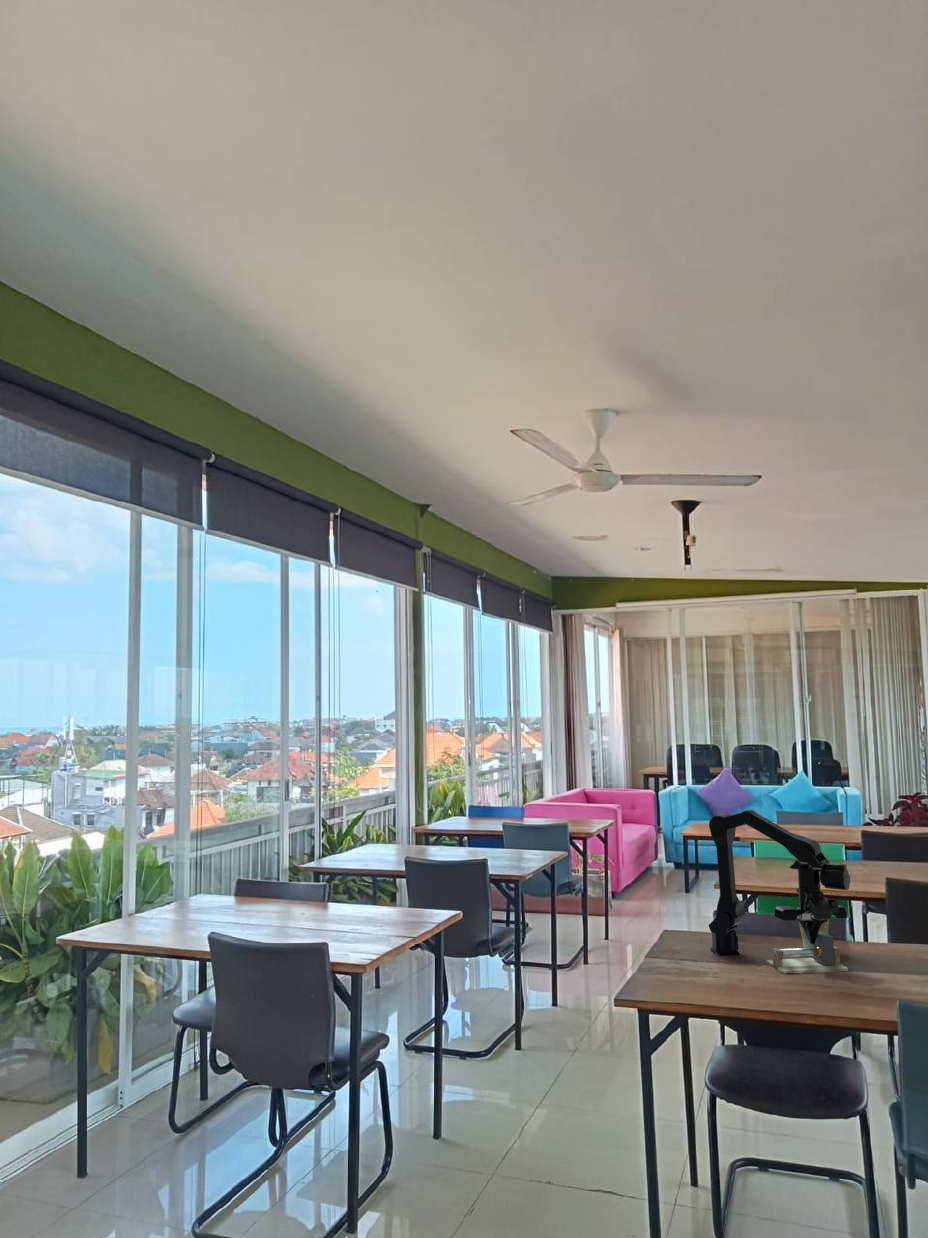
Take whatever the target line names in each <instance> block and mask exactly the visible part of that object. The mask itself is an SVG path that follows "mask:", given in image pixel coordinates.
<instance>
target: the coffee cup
mask: <svg viewBox="0 0 928 1238" xmlns="http://www.w3.org/2000/svg"><path fill="white" fill-rule="evenodd" d="M824 899H825V900H829V898H828V897H826V896H824ZM797 903H799V895H798V896H797V899H796V901H795V905H796V909H800V908H799V907H797ZM804 913H806V912H804ZM827 920H828V921H827V922H824V923H823V924H822V925H821V927H820V929H819V931H822V932H824V933H827V934H829V924H830V919H827ZM798 923H799V929H800V936H801V938H802V939H801V940H802V944H803V948H813V946H812V944H810V942H809V940H808V938H807V936H806V933H805V931H804V929H803V927H802V926H801V924H800V922H799V921H798Z"/></svg>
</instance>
